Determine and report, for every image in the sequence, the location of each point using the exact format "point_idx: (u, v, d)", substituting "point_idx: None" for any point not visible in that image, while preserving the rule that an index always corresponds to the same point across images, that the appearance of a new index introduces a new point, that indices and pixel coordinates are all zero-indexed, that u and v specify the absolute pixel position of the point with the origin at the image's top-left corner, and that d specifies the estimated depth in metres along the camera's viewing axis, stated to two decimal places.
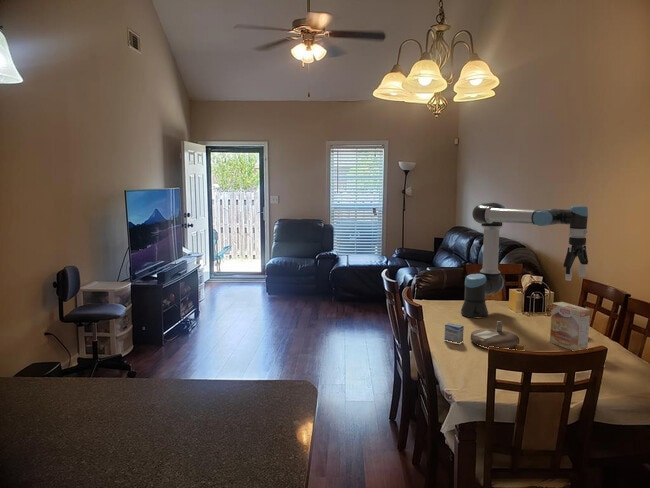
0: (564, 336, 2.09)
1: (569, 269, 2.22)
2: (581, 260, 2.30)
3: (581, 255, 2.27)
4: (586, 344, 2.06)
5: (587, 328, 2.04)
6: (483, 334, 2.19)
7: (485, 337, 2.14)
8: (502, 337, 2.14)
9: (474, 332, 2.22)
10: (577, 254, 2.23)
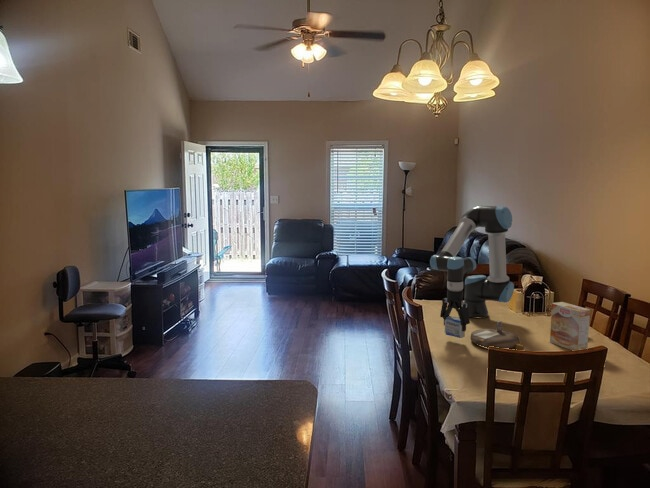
0: (564, 336, 2.09)
1: (444, 320, 2.22)
2: None
3: None
4: (586, 344, 2.06)
5: (587, 328, 2.04)
6: (483, 334, 2.19)
7: (485, 337, 2.14)
8: (502, 337, 2.14)
9: (474, 332, 2.22)
10: (448, 306, 2.18)
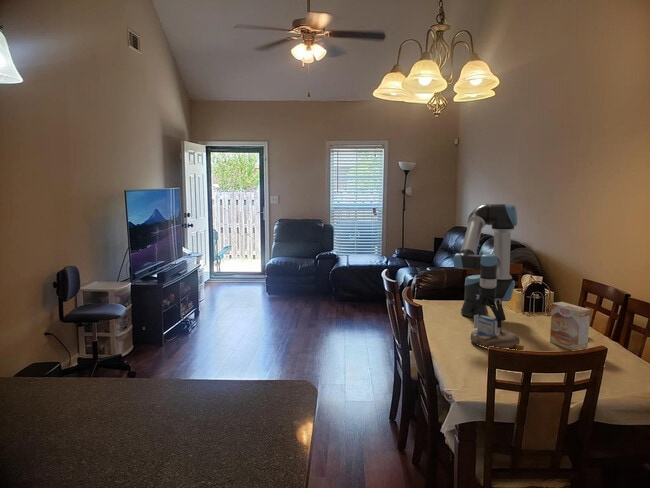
0: (564, 336, 2.09)
1: (473, 316, 2.23)
2: None
3: None
4: (586, 344, 2.06)
5: (587, 328, 2.04)
6: None
7: (485, 337, 2.14)
8: (502, 337, 2.14)
9: (474, 332, 2.22)
10: (480, 303, 2.17)
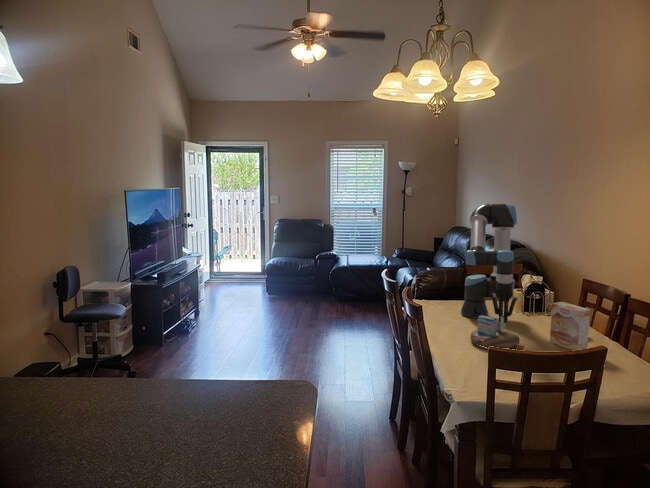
0: (564, 336, 2.09)
1: (499, 317, 2.21)
2: None
3: None
4: (586, 344, 2.06)
5: (587, 328, 2.04)
6: None
7: (485, 337, 2.14)
8: (502, 337, 2.14)
9: (474, 332, 2.22)
10: (500, 300, 2.19)
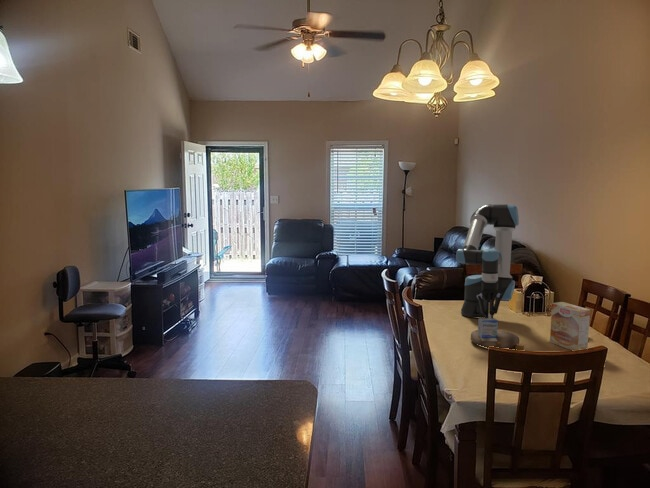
0: (564, 336, 2.09)
1: (487, 316, 2.23)
2: (490, 308, 2.23)
3: (491, 301, 2.22)
4: (586, 344, 2.06)
5: (587, 328, 2.04)
6: None
7: (494, 339, 2.11)
8: (501, 336, 2.17)
9: (475, 337, 2.15)
10: (488, 299, 2.21)
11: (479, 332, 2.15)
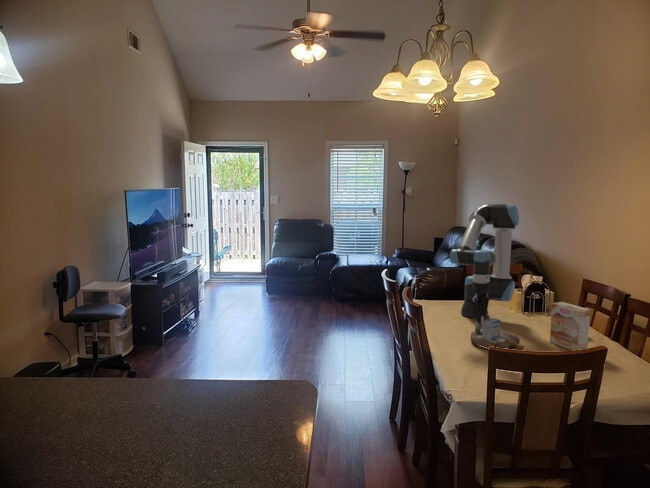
0: (564, 336, 2.09)
1: (480, 318, 2.21)
2: None
3: (483, 302, 2.21)
4: (586, 344, 2.06)
5: (587, 328, 2.04)
6: None
7: (501, 339, 2.11)
8: None
9: (485, 341, 2.10)
10: (482, 300, 2.19)
11: (486, 335, 2.11)
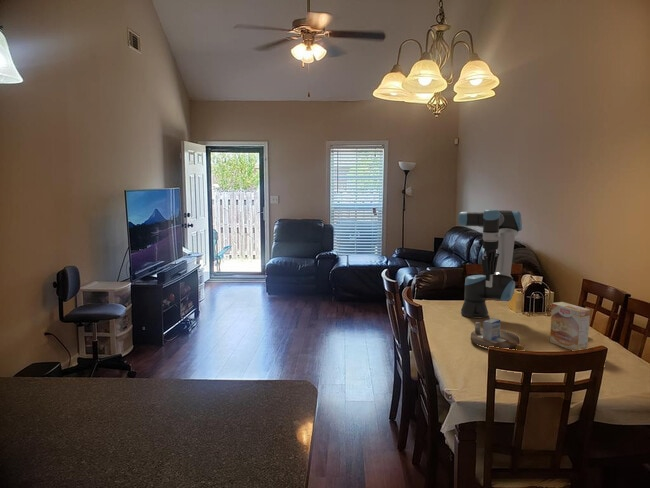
0: (564, 336, 2.09)
1: (489, 276, 2.26)
2: None
3: (492, 260, 2.26)
4: (586, 344, 2.06)
5: (587, 328, 2.04)
6: None
7: (501, 339, 2.11)
8: None
9: (485, 341, 2.09)
10: (491, 258, 2.24)
11: (486, 335, 2.11)
